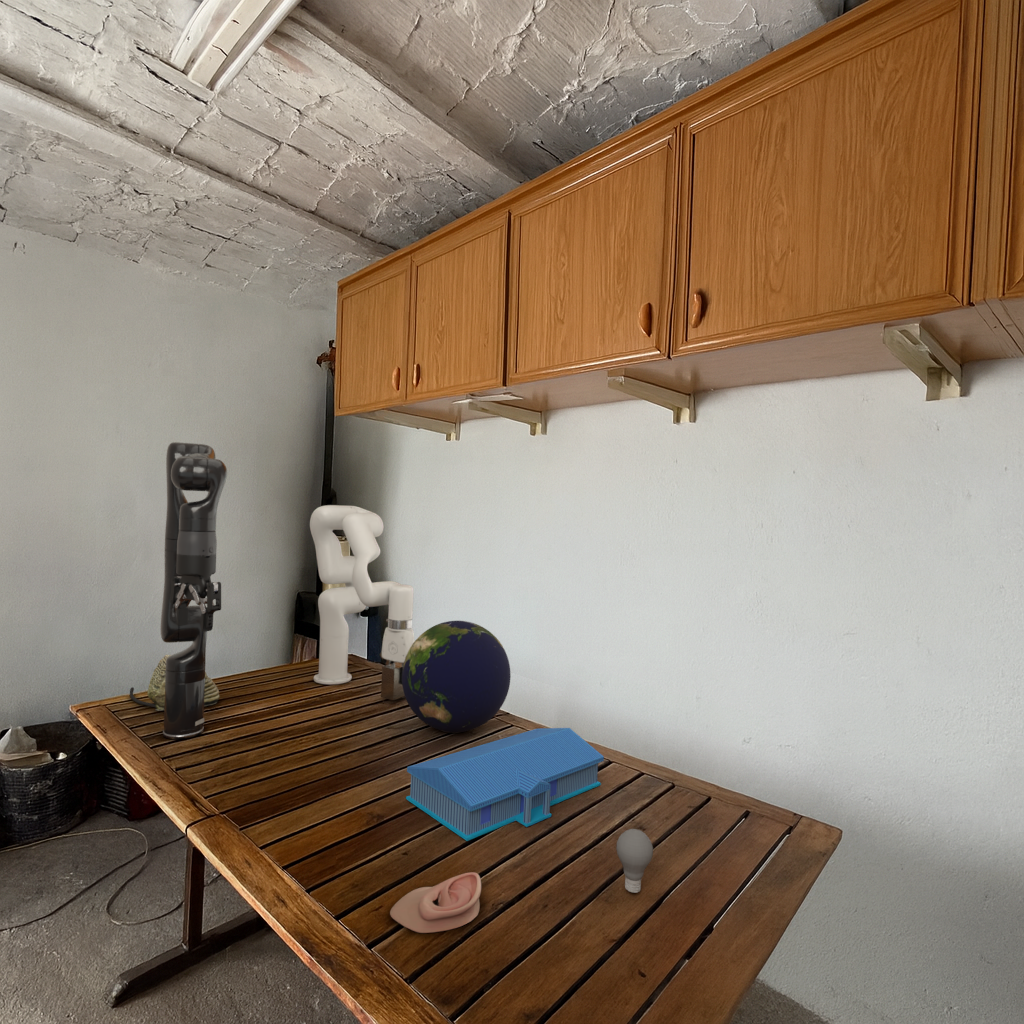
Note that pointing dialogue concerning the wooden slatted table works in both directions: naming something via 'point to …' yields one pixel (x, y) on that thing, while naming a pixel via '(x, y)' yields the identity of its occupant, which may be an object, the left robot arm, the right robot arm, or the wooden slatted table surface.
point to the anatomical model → (440, 905)
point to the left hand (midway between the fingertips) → (194, 628)
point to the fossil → (158, 687)
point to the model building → (504, 780)
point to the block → (392, 681)
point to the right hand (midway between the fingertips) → (397, 681)
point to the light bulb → (634, 857)
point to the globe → (456, 676)
